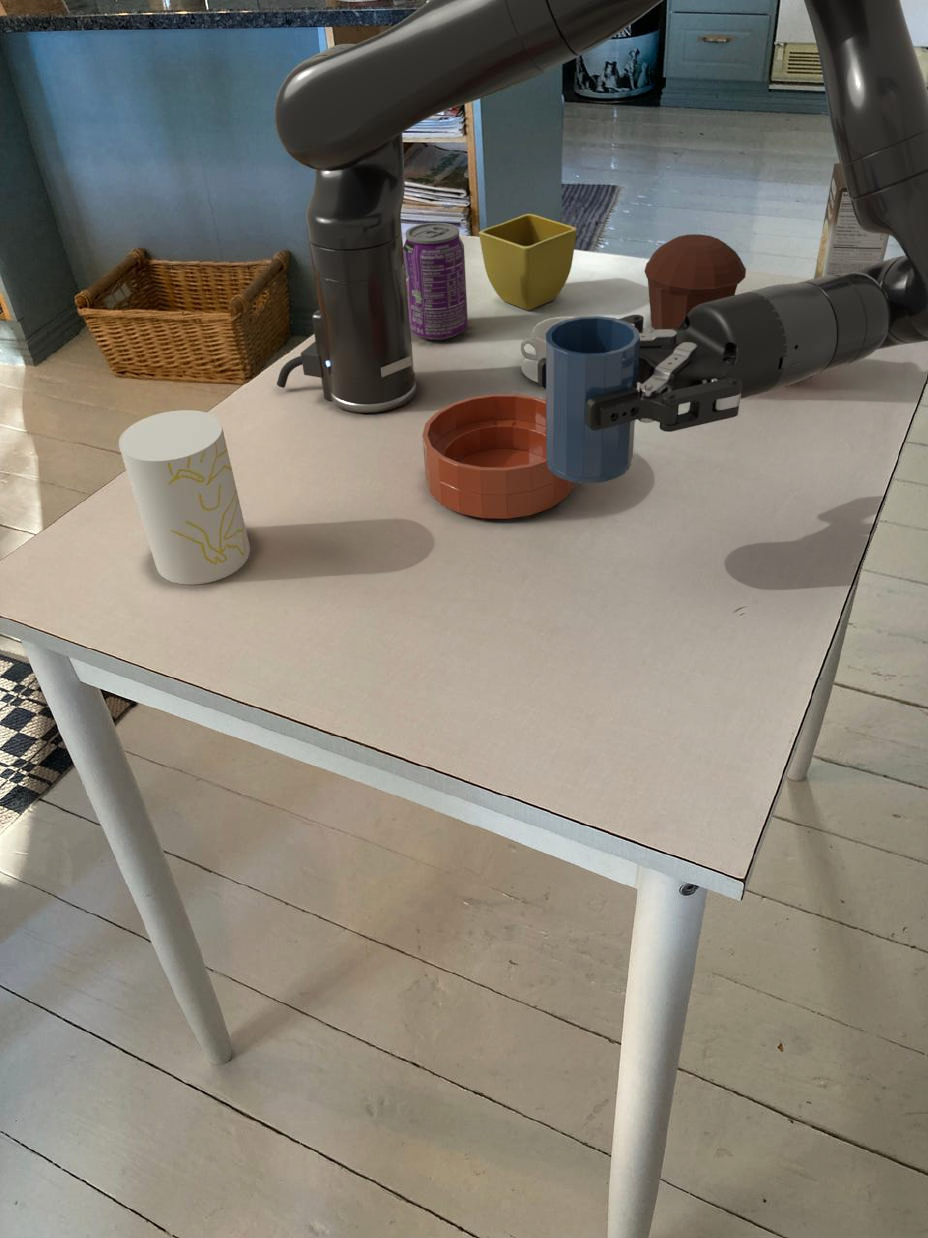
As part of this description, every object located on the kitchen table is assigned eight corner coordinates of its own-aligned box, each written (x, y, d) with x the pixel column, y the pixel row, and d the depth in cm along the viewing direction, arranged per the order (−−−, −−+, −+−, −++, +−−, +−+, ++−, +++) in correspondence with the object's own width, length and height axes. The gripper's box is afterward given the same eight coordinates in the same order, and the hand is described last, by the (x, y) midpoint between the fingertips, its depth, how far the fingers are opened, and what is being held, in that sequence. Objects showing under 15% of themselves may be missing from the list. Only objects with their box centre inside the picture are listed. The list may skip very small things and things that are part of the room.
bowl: (402, 506, 92) (396, 454, 88) (463, 434, 101) (460, 384, 98) (545, 536, 87) (545, 482, 83) (595, 457, 96) (597, 406, 93)
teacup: (604, 348, 115) (605, 309, 112) (616, 387, 107) (618, 346, 104) (517, 353, 115) (517, 314, 112) (524, 393, 107) (523, 352, 104)
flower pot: (527, 321, 122) (526, 247, 116) (479, 302, 127) (476, 230, 122) (577, 299, 126) (578, 227, 120) (529, 282, 131) (528, 212, 126)
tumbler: (533, 474, 74) (532, 348, 67) (562, 433, 78) (563, 311, 72) (617, 490, 72) (623, 360, 65) (641, 447, 76) (650, 322, 70)
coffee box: (808, 298, 123) (832, 160, 113) (862, 300, 122) (892, 161, 112) (812, 329, 116) (839, 185, 106) (870, 331, 115) (903, 186, 105)
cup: (205, 595, 83) (171, 470, 75) (136, 567, 86) (96, 445, 78) (269, 544, 88) (243, 423, 80) (201, 520, 91) (170, 402, 84)
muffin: (621, 322, 120) (625, 238, 114) (685, 297, 125) (693, 216, 119) (693, 354, 113) (702, 266, 106) (759, 326, 118) (772, 241, 111)
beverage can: (433, 315, 125) (426, 217, 117) (479, 327, 121) (475, 226, 114) (398, 336, 120) (388, 235, 113) (444, 348, 117) (438, 246, 109)
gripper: (706, 262, 78) (516, 308, 73) (830, 328, 68) (618, 386, 63) (697, 352, 83) (518, 401, 78) (811, 427, 72) (613, 487, 68)
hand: (563, 394), depth 70 cm, fingers closed on tumbler, 6 cm apart
